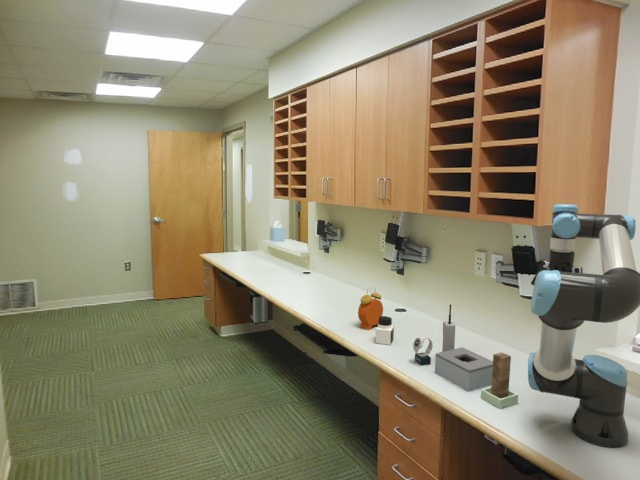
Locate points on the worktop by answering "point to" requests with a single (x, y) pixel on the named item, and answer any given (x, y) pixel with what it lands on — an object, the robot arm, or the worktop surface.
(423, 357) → the watch
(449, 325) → the grey rectangular bar
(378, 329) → the medicine bottle
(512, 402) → the green square tray
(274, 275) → the worktop surface
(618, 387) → the robot arm
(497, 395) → the brown wooden block
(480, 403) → the worktop surface
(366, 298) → the alarm clock
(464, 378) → the grey box with hole
